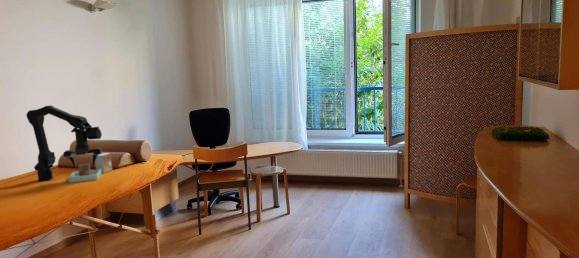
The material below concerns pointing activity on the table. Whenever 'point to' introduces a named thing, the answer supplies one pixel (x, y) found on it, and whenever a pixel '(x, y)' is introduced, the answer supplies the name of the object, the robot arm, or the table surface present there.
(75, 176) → the tray
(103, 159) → the small box
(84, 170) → the walnut block
